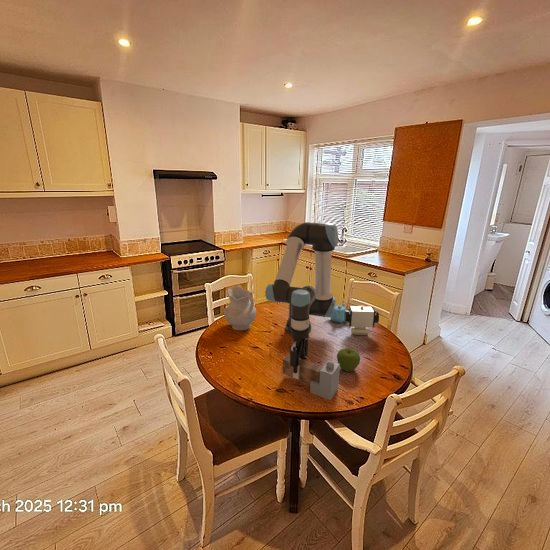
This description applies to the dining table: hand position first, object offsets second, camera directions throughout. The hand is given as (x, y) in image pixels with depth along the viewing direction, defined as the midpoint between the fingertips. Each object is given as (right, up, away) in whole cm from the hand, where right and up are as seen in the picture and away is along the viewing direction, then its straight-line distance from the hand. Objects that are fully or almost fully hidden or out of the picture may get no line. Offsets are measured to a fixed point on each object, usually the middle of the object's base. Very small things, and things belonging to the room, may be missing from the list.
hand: (298, 375), depth 130 cm
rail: (+2, -1, -1) cm, 2 cm away
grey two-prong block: (+10, -5, -5) cm, 13 cm away
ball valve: (+39, +9, +42) cm, 58 cm away
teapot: (+30, +15, +60) cm, 69 cm away
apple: (+24, 0, +9) cm, 25 cm away
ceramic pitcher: (-30, +12, +51) cm, 61 cm away
